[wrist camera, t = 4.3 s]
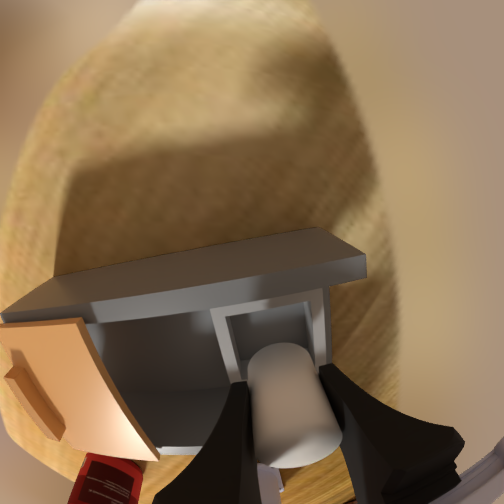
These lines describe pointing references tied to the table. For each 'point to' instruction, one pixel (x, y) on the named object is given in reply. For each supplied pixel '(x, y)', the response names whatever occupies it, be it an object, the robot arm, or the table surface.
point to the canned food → (107, 481)
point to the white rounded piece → (289, 408)
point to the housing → (199, 321)
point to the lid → (71, 389)
